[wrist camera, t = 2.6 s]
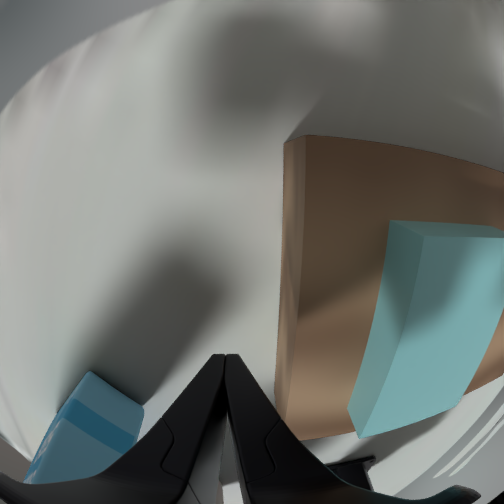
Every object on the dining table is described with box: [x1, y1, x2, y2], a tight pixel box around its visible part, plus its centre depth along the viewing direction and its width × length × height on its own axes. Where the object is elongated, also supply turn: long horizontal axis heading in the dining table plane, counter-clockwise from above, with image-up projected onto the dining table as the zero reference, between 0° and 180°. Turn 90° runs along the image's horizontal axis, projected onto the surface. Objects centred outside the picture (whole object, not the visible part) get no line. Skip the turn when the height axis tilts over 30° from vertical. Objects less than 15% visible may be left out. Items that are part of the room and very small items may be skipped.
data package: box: [23, 371, 144, 484], centre depth 11 cm, size 12×4×12 cm, turn 136°
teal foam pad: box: [347, 220, 504, 439], centre depth 9 cm, size 9×6×2 cm, turn 0°
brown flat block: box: [274, 135, 504, 441], centre depth 12 cm, size 14×18×4 cm
